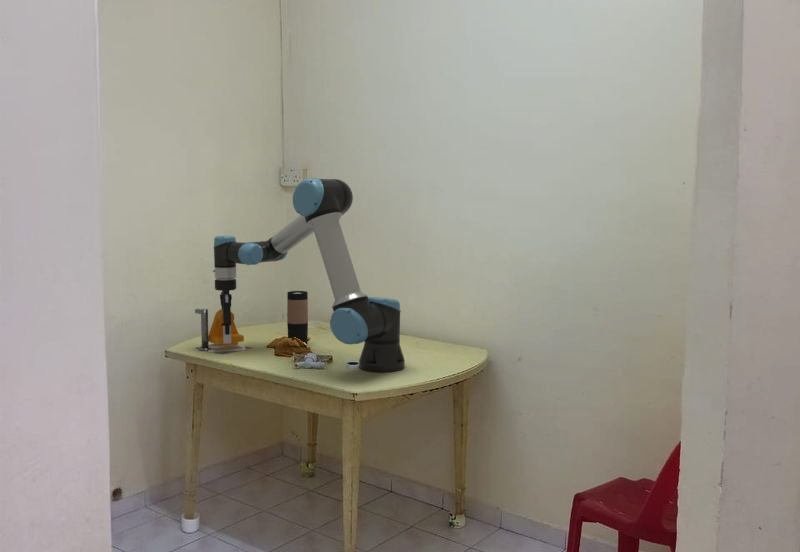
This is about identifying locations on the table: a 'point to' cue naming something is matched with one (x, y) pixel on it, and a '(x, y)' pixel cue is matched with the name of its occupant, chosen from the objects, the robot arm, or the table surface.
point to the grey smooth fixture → (204, 329)
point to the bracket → (217, 331)
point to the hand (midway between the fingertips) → (226, 340)
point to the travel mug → (297, 315)
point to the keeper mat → (226, 348)
